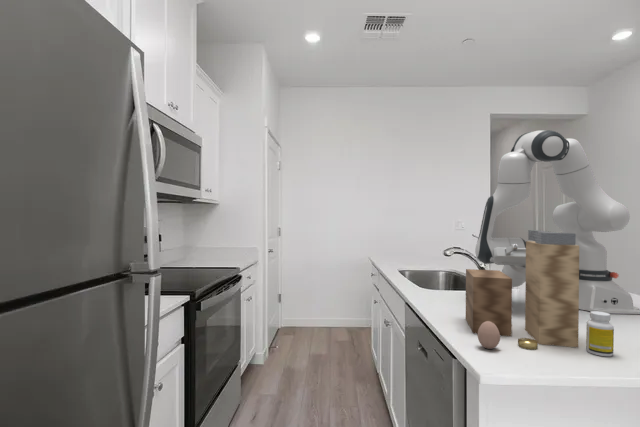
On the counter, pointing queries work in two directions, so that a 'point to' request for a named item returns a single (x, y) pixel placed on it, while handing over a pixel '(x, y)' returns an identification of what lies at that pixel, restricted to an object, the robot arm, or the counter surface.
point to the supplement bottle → (600, 334)
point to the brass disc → (527, 343)
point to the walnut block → (489, 300)
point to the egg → (488, 335)
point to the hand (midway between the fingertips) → (530, 246)
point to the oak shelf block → (552, 293)
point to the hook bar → (551, 237)
